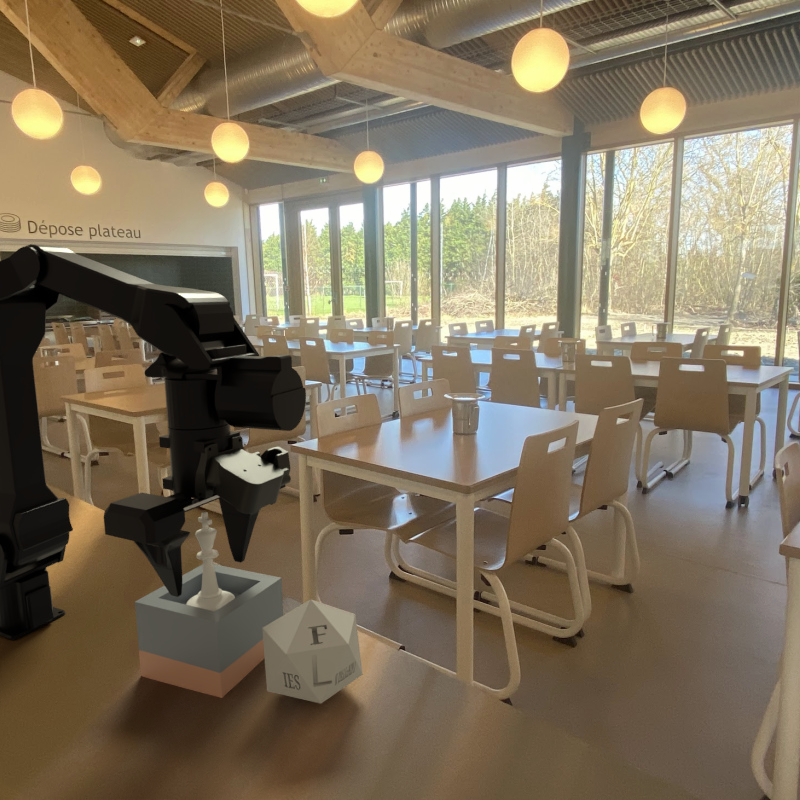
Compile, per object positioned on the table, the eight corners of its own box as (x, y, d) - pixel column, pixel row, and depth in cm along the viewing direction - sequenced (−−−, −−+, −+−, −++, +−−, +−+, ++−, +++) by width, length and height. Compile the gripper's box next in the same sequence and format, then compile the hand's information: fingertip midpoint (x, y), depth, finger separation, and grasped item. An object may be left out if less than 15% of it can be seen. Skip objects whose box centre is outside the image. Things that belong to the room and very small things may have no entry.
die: (271, 743, 54) (265, 631, 52) (264, 682, 62) (258, 584, 61) (371, 723, 56) (368, 615, 54) (350, 667, 64) (348, 572, 63)
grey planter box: (141, 678, 64) (134, 601, 62) (210, 630, 73) (205, 562, 71) (222, 703, 59) (217, 622, 58) (284, 648, 68) (281, 577, 67)
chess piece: (217, 592, 68) (211, 501, 67) (246, 605, 65) (240, 510, 64) (175, 610, 65) (168, 514, 63) (204, 625, 62) (197, 524, 60)
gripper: (187, 454, 50) (201, 641, 53) (324, 413, 66) (329, 557, 69) (92, 441, 55) (108, 611, 58) (240, 406, 72) (248, 540, 74)
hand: (209, 577), depth 64 cm, fingers open, 8 cm apart
